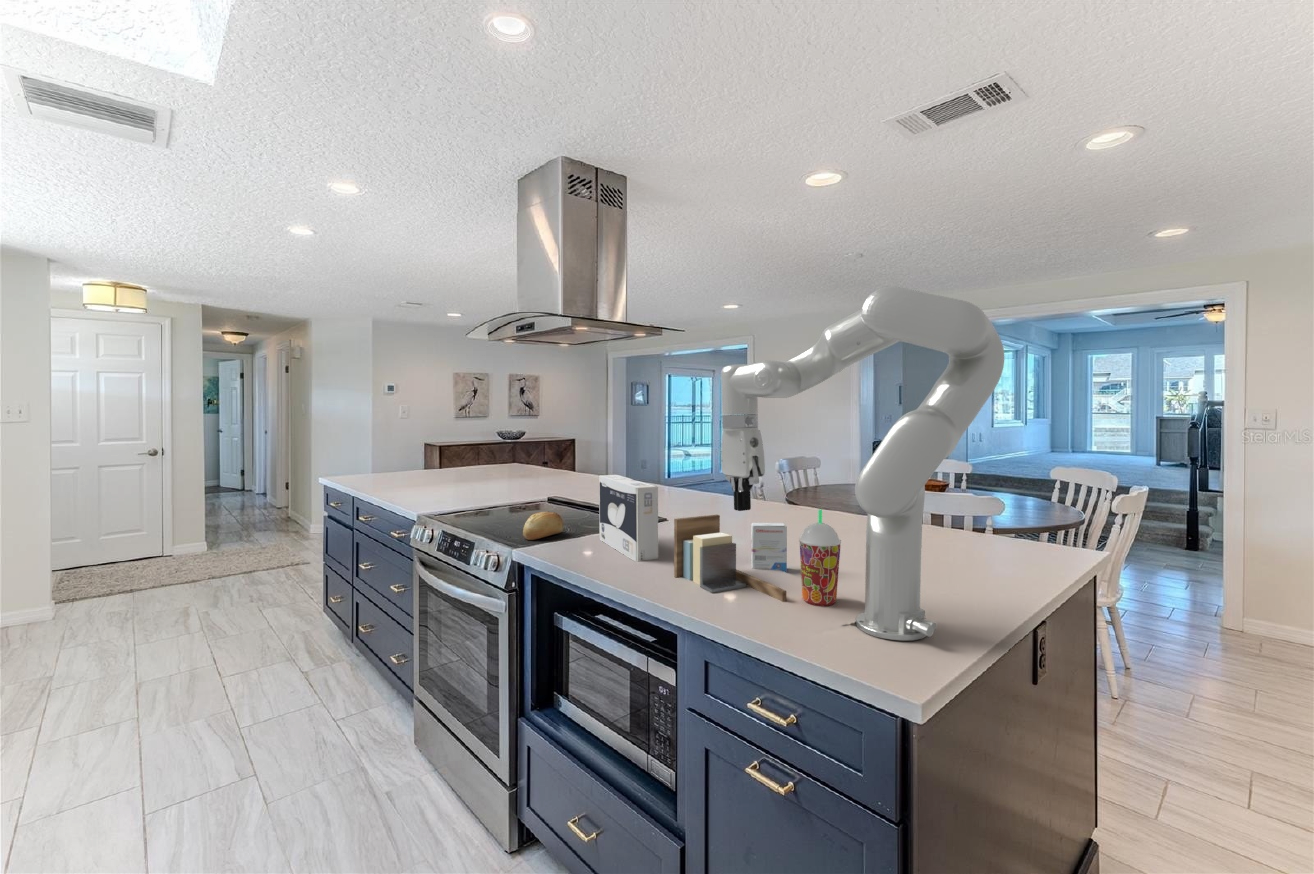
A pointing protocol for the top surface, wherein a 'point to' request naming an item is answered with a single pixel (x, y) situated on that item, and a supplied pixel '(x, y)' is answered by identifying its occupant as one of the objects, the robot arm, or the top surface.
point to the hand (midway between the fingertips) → (742, 509)
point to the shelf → (710, 525)
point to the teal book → (688, 559)
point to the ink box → (769, 546)
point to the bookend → (719, 568)
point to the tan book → (702, 542)
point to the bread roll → (542, 525)
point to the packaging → (629, 516)
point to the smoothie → (819, 563)
